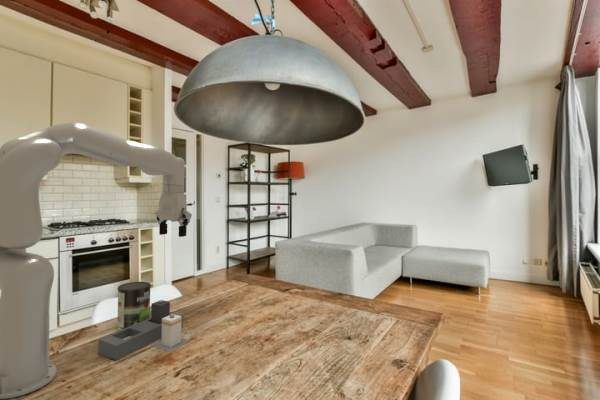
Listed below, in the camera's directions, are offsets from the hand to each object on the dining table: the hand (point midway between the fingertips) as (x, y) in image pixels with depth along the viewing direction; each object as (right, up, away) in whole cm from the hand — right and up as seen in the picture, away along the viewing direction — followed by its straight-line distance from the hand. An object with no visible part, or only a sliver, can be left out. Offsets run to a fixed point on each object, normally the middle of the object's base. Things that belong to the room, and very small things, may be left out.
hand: (172, 235), depth 114 cm
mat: (+8, -32, -20) cm, 38 cm away
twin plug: (+1, -29, -12) cm, 32 cm away
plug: (+8, -31, -20) cm, 38 cm away
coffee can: (-11, -31, -7) cm, 34 cm away
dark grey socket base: (-2, -31, -18) cm, 36 cm away
